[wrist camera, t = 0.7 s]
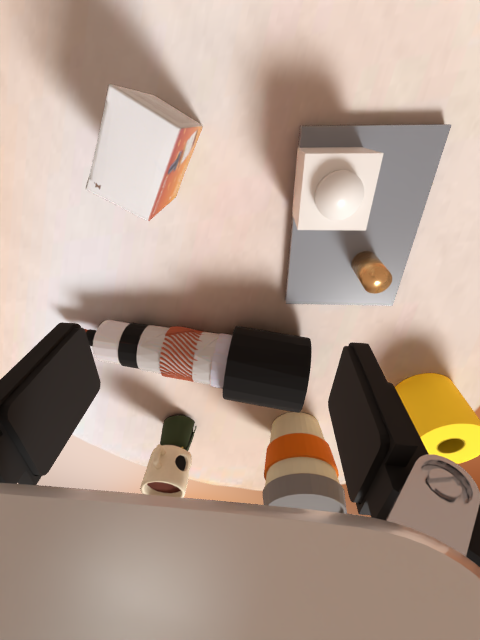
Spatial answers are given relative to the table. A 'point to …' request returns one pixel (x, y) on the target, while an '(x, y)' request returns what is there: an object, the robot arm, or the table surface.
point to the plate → (384, 220)
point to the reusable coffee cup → (301, 467)
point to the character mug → (170, 459)
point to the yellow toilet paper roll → (441, 416)
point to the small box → (141, 151)
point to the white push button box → (335, 187)
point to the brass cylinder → (371, 272)
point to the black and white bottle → (214, 359)
